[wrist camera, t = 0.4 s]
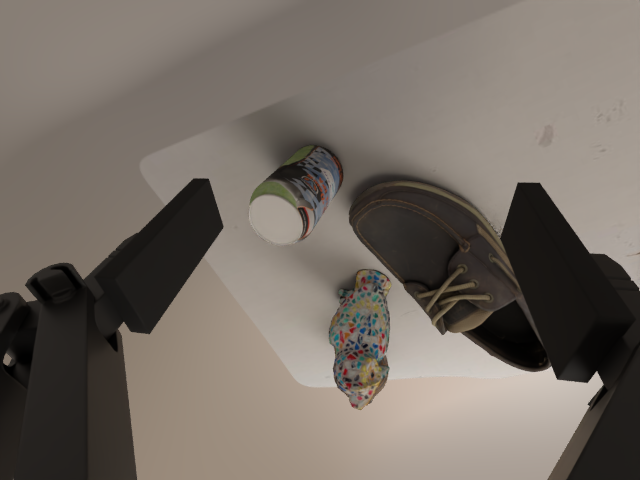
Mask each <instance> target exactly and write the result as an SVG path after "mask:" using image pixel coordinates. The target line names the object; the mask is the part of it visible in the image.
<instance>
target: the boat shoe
mask: <svg viewBox="0 0 640 480" xmlns="http://www.w3.org/2000/svg"><path fill="white" fill-rule="evenodd" d="M349 215H350V216H349V223H350V225H351V226H352V227H353V231H354V232H355V234H356V235H357V237H358V238H359V240H360V241H361V242H362V243H363V244H364V245H365V246H366V247H367V248H368V249H369V250H370V251H371V252H372V253H373V254H374V255H375V256H376V257H377V258H378V260H379V261H380V262H381V263H382V264H383V265H384V266H385V267H386V268H387V269H388V270H389V271H390V272H391V273H392V274H393V275H394V276H395V277H396V278H397V279H398V280H399V281H400V282H401V283H402V284H403V286H404V288H405V290H406V291H407V292H408V293H409V294H410V295H411V296H412V297H413V298H414V299H415V301H416V302H417V303H418V304H419V305H420V306H421V307H422V309H423V310H424V311H425V312H426V314H427V315H428V316H429V318H430V319H431V321H432V325H433V326H435V327H436V328H437V329H438V330H439V331H440V333H441V334H442V335H444V334H445V333H446V331H447V330H448V331H450V332H452V333H459V332H460V333H462V334H463V335H465V336H466V337H467V338H469V339H470V340H471V341H473V342H474V343H475V344H477V345H479V346H480V347H482V348H483V349H484V350H485V351H487V352H488V353H489V354H490V355H491V356H494V357H496V358H498V359H499V360H501V361H503V362H505V363H507V364H509V365H511V366H513V367H516V368H518V369H521V370H525V371H530V372H538V371H543V370H546V369H548V368H549V367H551V363H550V361H549V358H548V356H547V353H546V351H545V348H544V346H543V343H542V341H541V338H540V336H539V333H538V331H537V328H536V326H535V324H534V321H533V319H532V316H531V314H530V311H529V309H528V306H527V304H526V301H525V299H524V296H523V294H522V291H521V289H520V286H519V284H518V282H517V279H516V277H515V274H514V272H513V269H512V267H511V264H510V262H509V259H508V257H507V254H506V252H505V249H504V247H503V244H502V242H501V240H500V239H499V237H498V236H497V234H496V233H495V231H494V230H493V228H492V227H491V225H490V224H489V223H488V222H487V220H486V219H485V218H484V217H483V216H482V215H481V214H480V213H479V212H478V210H477V209H475V208H474V207H473V206H472V205H470V204H469V203H468V202H466V201H465V200H463V199H462V198H460V197H458V196H456V195H454V194H451V193H449V192H447V191H445V190H443V189H440V188H437V187H434V186H431V185H428V184H424V183H419V182H413V181H391V182H385V183H381V184H378V185H375V186H373V187H371V188H369V189H368V190H366V191H365V192H363V193H362V194H361V195H360V196H359V197H358V198H357V199H356V200H355V201H354V203H353V204H352V206H351V208H350V211H349Z"/></svg>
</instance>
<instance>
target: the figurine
mask: <svg viewBox="0 0 640 480" xmlns="http://www.w3.org/2000/svg"><path fill="white" fill-rule="evenodd" d="M390 287H391V283H390V280H389V279H388V278H387V277H386V276H385V275H384V274H382V273H380V272H378V271H376V270H361V271H359V272H357V274H356V285H355V288H354V289H352V290H350V291H347V290H344V289H340V290H339V295H341V297H340V300H339V303H340V304H341V305H340V307H339V308H338V310H337V312H336V314H335V315H334V317H333V318H332V321H331V326H330V330H329V341H330V344H332V345H333V346H334V349H335V362H334V367H333V371H334V379H335V382H336V384H337V386H338V388H339V389H340V390H341V391H342V392H344V393H345V394H346V395H347V396H348V397H349V401H350V403H351V405H352V407H353V408H356V409H358V410H361V409H362V408H363V407H364V406H365V405H368V403H369V401H370V400H371V399H372V397H373V394H374V393H375V389H376V388H377V387H378V385H379V384H380V382H381V380H382V378H385V377H386V375H387V374H388V372H389V367H388V366H386V365H380V364H379V363H378V362H379V361H380V360H382V359H383V358H384V356H385V353H386V351H387V347H388V343H389V331H390V317H389V311H388V308H387V302H386V298H385V297H386V295H387V293H388V291H389V289H390Z"/></svg>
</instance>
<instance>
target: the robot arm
mask: <svg viewBox="0 0 640 480" xmlns="http://www.w3.org/2000/svg"><path fill="white" fill-rule="evenodd" d="M223 228H224V227H223V223H222V220H221V217H220V214H219V210H218V207H217V204H216V201H215V198H214V194H213V191H212V188H211V185H210V181H209V179H193V180H192V181H191V182H190V183H189V184H188V185H187V186H186V187H185V188H183V189H182V190H181V191H180V192H179V193H178V194H177V195H176V196H175V197H174V198H173V199H172V200H171V201H170V202H169V203H168V204H167V205H166V206H165V207H164V208H163V209H162V210H161V211H160V212H159V213H158V214H157V215H156V216H155V217H154V218H153V219H152V220H151V221H150V222H149V223H148V224H147V225H146V226H145V227H144V228H143V229H142V230H141V231H140V232H139V233H136V234H134V235H133V236H131V237H129V238H128V239H126V240H124V241H123V242H122V243H121V244H120V245H119V246H118V247H117V248H116V251H113V252H112V253H111V254H110V255H109V257H108V258H106V259H105V260H104V261H103V262H102V263H101V264H100V265H98V266H97V267H96V268H95V269H94V270H93V271H92V272H91V273H90V274H89V275H88V276H87V277H86V278H85V279H84V280H83V279H82V278H81V276H80V275H79V274H78V272H77V271H76V269H75V268H74V266H73V265H72V264H69V263H59V264H54V265H51V266H48V267H47V268H44V269H42V270H40V271H39V272H37V273H35V274H34V275H33V276H32V277H31V278H30V279H28V281H27V283H26V285H25V286H26V287H27V288H28V289H29V290H30V292H31V293H32V294H33V295H34V296H35V297H36V298H37V300H36V301H30V302H26V301H25V300H24V299H23V298H22V297H21V295H20V294H19V293H14V292H10V293H4V294H1V295H0V480H13V478H14V480H137V475H136V465H135V456H134V446H133V437H132V429H131V418H130V409H129V400H128V391H127V381H126V372H125V363H124V354H123V345H122V336H121V333H120V332H119V330H118V328H119V327H120V325H121V324H122V323H123V322H125V324H126V325H127V327H128V328H129V330H130V331H131V332H137V333H145V334H150V333H151V331H152V330H153V328H154V327H155V326H156V324H157V323H158V321H159V320H160V318H161V317H162V315H163V314H164V313H165V311H166V310H167V308H168V307H169V305H170V304H171V302H172V301H173V300H174V298H175V297H176V295H177V294H178V292H179V291H180V290H181V288H182V286H183V285H184V284H185V282H186V281H187V279H188V278H189V277H190V275H191V274H192V272H193V271H194V269H195V268H196V266H197V265H198V264H199V262H200V261H201V259H202V258H203V256H204V255H205V253H206V252H207V251H208V249H209V248H210V246H211V245H212V243H213V242H214V240H215V239H216V238H217V236H218V235H219V233H220V232H221V230H222V229H223ZM500 239H501V242H502V244H503V247H504V249H505V252H506V254H507V257H508V259H509V262H510V264H511V267H512V269H513V272H514V274H515V277H516V279H517V282H518V284H519V286H520V289H521V291H522V294H523V296H524V299H525V301H526V304H527V306H528V309H529V311H530V314H531V316H532V319H533V321H534V324H535V326H536V328H537V331H538V333H539V336H540V338H541V341H542V343H543V346H544V348H545V351H546V353H547V356H548V358H549V361H550V363H551V366H552V368H553V371H554V373H555V375H556V378H557V379H558V380H567V381H575V382H584V383H588V382H589V380H590V379H591V378H592V376H593V375H594V374H595V372H596V371H598V374H599V376H600V378H601V380H602V381H603V384H604V385H603V386H602V388H601V389H600V390H599V391H598V392H597V394H596V395H595V396H594V397H593V398H592V399H591V401H590V402H589V403H588V405H589V406H590V407H589V409H588V410H587V412H586V414H585V415H584V417H583V419H582V421H581V422H580V424H579V426H578V428H577V430H576V431H575V433H574V434H573V436H572V438H571V440H570V442H569V443H568V445H567V447H566V448H565V450H564V452H563V454H562V455H561V457H560V459H559V460H558V462H557V464H556V466H555V467H554V469H553V471H552V473H551V475H550V476H549V478H548V480H640V291H639V288H638V286H637V285H636V284H635V283H634V281H631V278H630V276H629V275H628V274H627V273H626V271H625V270H624V269H623V267H622V266H621V265H619V264H618V263H617V262H615V261H614V260H612V259H611V258H609V257H608V256H607V255H605V254H590V253H589V252H588V250H587V249H586V248H585V246H584V245H583V243H582V242H581V240H580V239H579V238H578V236H577V235H576V233H575V232H574V231H573V229H572V228H571V226H570V225H569V224H568V222H567V221H566V219H565V218H564V217H563V215H562V214H561V212H560V211H559V209H558V208H557V207H556V205H555V204H554V202H553V201H552V200H551V198H550V197H549V195H548V194H547V193H546V191H545V190H544V188H543V187H542V186H541V184H540V183H518V184H517V187H516V190H515V193H514V197H513V200H512V203H511V206H510V209H509V213H508V216H507V219H506V222H505V225H504V228H503V232H502V235H501V238H500ZM6 353H7V354H8V355H9V356H10V357H11V358H12V360H11V362H10V364H9V365H8V366H7V365H5V364H4V363H3V359H4V355H5V354H6Z"/></svg>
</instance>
